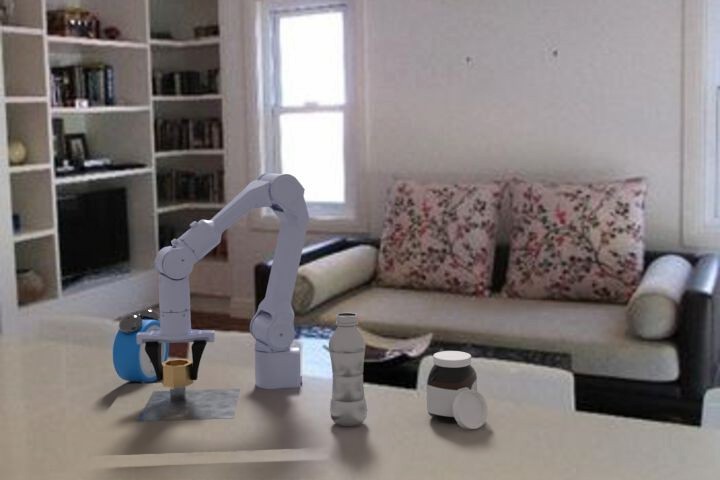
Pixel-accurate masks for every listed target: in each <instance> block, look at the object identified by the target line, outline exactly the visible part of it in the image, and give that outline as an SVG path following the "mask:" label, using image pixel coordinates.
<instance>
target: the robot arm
mask: <svg viewBox="0 0 720 480" xmlns="http://www.w3.org/2000/svg"><path fill="white" fill-rule="evenodd" d="M258 208H260V209H261V208H269V209H271V210H272V211H273V213H274V215H275V216H276V217H277V218H278V219H279V221H280V225H279V232H278V236H277V241H276V246H275V250H274V255H273V259H272V264H271V267H270V268H271V269H270V273H269V278H268V283H267V287H266V292H265V297H264V299H262V300H261V302H260V303H259V305H258V308H257V311H256V312H255V314H254V316H253V317H252V319H251V320H250V324H249V331H250V334H251V336H252V338H254V339H255V344H254V371H255V372H254V375H255V378H254V379H255V382H254V383H255V386H256V387H258V388H261V389H266V390H277V389H286V388H301V384H303V374H301V348H300V347H299V346H296V347H295V346H291V345H292V344H293V342H294V340H295V337H296V330H295V325H294V323H295V322H294V320H295V311H294V309H293V307H292V301H293V295H294V292H295V291H294V290H295V285H296V281H297V278H298V277H297V276H298V271H299V266H300V263H301V258H302V253H303V249H304V245H305V240H306V236H307V231H308V225H309V222H310V220H309V219H310V215H309V211H308V208H307V204H306V199H305V188H304V186H303V185H302V184H301V182H300V181H299V180H298V178H297V177H295V175H292V174H290V173H275V172H264V173H262V174H260V175H259V176H258V177H257V179H254V180H253V181H251V182H250V183H248V184H247V185H246V187H245V188H243V189H242V191H240V192H239V193H238V194H237V195H236V196H235V197H234V198H233V199H232V200H231V201H230V202H228V203H227V204H226V205H225V206H224V207H223V208H222V209H220V211H219V212H217V213H216V214H215V215H214V216H213V217H212V218H211V219H209V220H207V219H200V220H199V221H198V222H197V221H196V220H195V221H192V222H191V223H190V224H189V226H190V228H189V229H188V230H187V231H185V232H184V233H183V234H182V235H181V236H179V237H178V238H177V239H176V238H173V239H172V240H171V241H170V242H171V245H169V246H164V247H162V248H161V249H160V250H159V251H158V252H157V253H156V256H155V259H154V261H153V266H154V269H155V270H156V272H158V299H159V300H158V302H159V303H158V304H159V317H160V321H159V322H160V330H161V331H151V332H138V334H137V335H136V336H137V344H143V343H145V351H146V353H147V355H148V356H149V358H150V360H151V362H152V364H153V367H154V370H155V373H156V377H157V379H156V381H157V382H162V372H161V363H162V362H161V346H162V343H169V344H171V343H173V344H174V343H175V344H176V343H178V344H179V343H192V345H191V346H190V347H191V355H192V357H191V358H192V363H193V373H192V377H193V381H197V380H198V377H199V375H198V373H199V368H200V364H201V360H202V356H203V354H204V351H205V348H206V346H207V344H208V343H215V341H216V333H215V332H216V331H215V330H210V329H209V330H208V329H207V330H206V329H204V330H203V329H202V330H201V329H192V322H191V321H192V320H191V317H192V315H191V293H190V292H191V290H190V279H189V278H190V277H189V276H190V274H191V273H192V272H193V269H194V264H196V263H198V262H199V261H200V260H202V259H203V258H204V257H205V256H206V255H207V254H208V253H210V252H211V251H212V250H213V249H215V248H216V247H217V246H218V245H219V244H220V243H221V241H222V234H223V233H224V232H225V231H226V230H227V229H229V228H230V227H232V226H233V225H234V224H235V223H237V222H238V221H239V220H241V219H242V218H244V217H245V216H246V215H247V214H248V213H250V212H251V211H252V210H255V209H258Z"/></svg>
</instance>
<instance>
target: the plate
mask: <svg viewBox="0 0 720 480" xmlns="http://www.w3.org/2000/svg"><path fill="white" fill-rule="evenodd" d="M240 391H241V388H224V389H222V388H221V389H219V388H218V389H189V390H187V386H185V387H176V388H172V387H169V390H159V391H157V390H155V391H153V392H152V394H151V395H150V397H149V399H148V401H147V403H146V404H145V405H144V408H143V410H142V411H141V412H140V415H139V417H138V419H137V420H136V421H137V422H158V421H160V422H161V421H162V422H163V421H165V422H166V421H191V420H196V421H197V420H220V419H221V420H222V419H234V418H235V414H236V408H237V405H238V401H239V395H240Z"/></svg>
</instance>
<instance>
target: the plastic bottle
mask: <svg viewBox="0 0 720 480" xmlns="http://www.w3.org/2000/svg"><path fill="white" fill-rule="evenodd" d="M358 318H359V317H358V314H357V313H355V312H339V313H337V314H336V318H335V319H336V321H335V326H337V327H336V329H335V330H334V332H333V333H332V335H331V336H330V338H329V341H328V350H329V351H328V352H329V357H330V362H331V373H332V377H331V378H332V388H331V389H332V391H331V399H330V404H329V413H330V418H331V420H332V421H333V423H334V424H335V425H339V426H344V427H353V426H358V425H361V424H363V423H364V422H365V421H366V419H367V413H368V407H367V401H366V398H365V397H366V396H365V388H364V374H363V373H364V364H365V363H364V362H365V354H366V340H365V338H364V336H363V334H362V333H361V332H360V331H359V329H358V328H357V326H358V325H359V322H358V321H359V319H358Z"/></svg>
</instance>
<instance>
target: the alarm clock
mask: <svg viewBox="0 0 720 480" xmlns="http://www.w3.org/2000/svg"><path fill="white" fill-rule="evenodd" d="M151 331H161V330H160V313H158V312H157V311H155V310H154V309H152V308H150V307H149V308H143V309H141V310H139V311H138V313H137V314H135V313H131V314H128V315H125V316H123V317H122V318H121V319H120V320H119V323H118V330H117V333H116V335H115V337H114V342H113V346H112V361H113V366H114V367H113V368H114V370H115V372H116V374H117V375H118V377H120V378H121V379H122V380H123V381H126V382H139V383H141V384H145V383H153V382H154V381H157V377H156V373H155V370H154V367H153V364H152V362H151V360H150V358H149V356H148V355H147V353H146V351H145V343H143V344H137V336H136V335H137V334H138V332H151ZM169 352H170V343H162V346H161V362H165V361H167V360H169V359H168V358H169Z"/></svg>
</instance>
